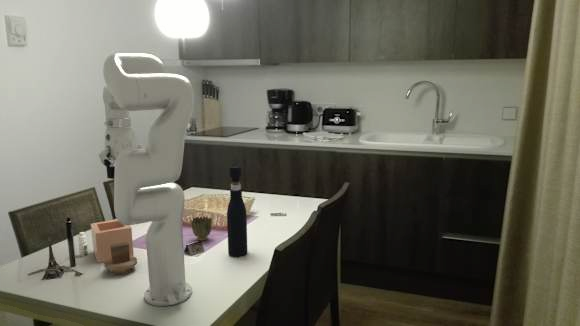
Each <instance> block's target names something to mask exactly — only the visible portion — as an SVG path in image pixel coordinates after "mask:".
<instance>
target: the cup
mask: <svg viewBox="0 0 580 326" xmlns="http://www.w3.org/2000/svg"><path fill="white" fill-rule="evenodd" d="M212 222H213V218H212V217H210V216H209V217H208V216H203V217H202V216H200V217H199V216H196V217H193V218H192V219H191V220H190V223H191V229H192V233H193V235H194V236H195V237H196V238H197V241H199V242H206V241H208V236H209V235H210V233H211V232H212V226H213V225H212V224H213V223H212Z"/></svg>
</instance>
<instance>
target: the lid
mask: <svg viewBox="0 0 580 326" xmlns="http://www.w3.org/2000/svg"><path fill="white" fill-rule="evenodd" d="M110 246H111V257H112V258H111V259H109V260H107V261H106V262H104V267H105V269H106V270H108V271H110V272H111V273H112V275H115V276H119V275H126V274H128V273H130V272H131V271H132V270H133V267H136V266H137V264H138V258H137V257H136V256H135V255H134V256H130V252H129V244H128V242H124V243H119V244H114V245H110Z"/></svg>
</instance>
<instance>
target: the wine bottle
mask: <svg viewBox="0 0 580 326" xmlns="http://www.w3.org/2000/svg"><path fill="white" fill-rule="evenodd" d="M228 171H229V172H228V173H229V178H231V184H230V190H229V191H230V192H229V193H230V199H229V201H228V205H227V209H226V210H227V211H226V223H227V224H226V225H227V227H226V228H227V252H228V257H229V256H230V257H231V258H243V257H245V256H247V255H248V226H247V225H248V223H247V221H248V220H247V218H248V217H247V208H246V205H245V202H244V201H245V200H243V190H242V185H241V183H240V182H241V181H240V178H241V177H242V166H241V165H236V164H235V165H230V166H229V168H228Z"/></svg>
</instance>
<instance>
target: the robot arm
mask: <svg viewBox="0 0 580 326" xmlns="http://www.w3.org/2000/svg"><path fill="white" fill-rule="evenodd" d="M165 71H166V69H165V66H164V63H163V62H162V60H160V58H158V57H156V56H155V55H153V54H149V53H116V52H115V53H112V54H110V55H108V56H107V58H106V59H105V61H104V62H103V69H102V72H103V79H104V81H105V84H106V85H105V86H104V87H103V91H102V100H103V103H104V104H103V105H104V113H105V121H104V126H105V127H106V128H105V131H104V149H103V150H102V151H101V152H100V153H99V154H98V158H99V159H100V161H101V163H102V164H103V166H104V167H105V169H106V178H108V179H112V180H114V184H113V185H114V190H113V191H114V193H113V210H114V215H115V218H116V220H118V222H119V223H121V224H123V225H130V226H134V225H140V224H144V223H149V222H151V223H150V225H149V227H148V229H147V231H146V236H145V242H146V243H145V245H146V256H147V257H146V258H147V268H148V269H147V270H148V282H149V287H148V288H147V289H145V291H144V293H143V297H144V301H145V302H146V303H148V304H149V305H152V306H156V307H158V306H160V307H165V306H166V307H167V306H172V305H177V304H179V303H182V302H184V301H186V300H187V299H188V298H190V296H191V295H192V293H193V288H192V286H191V284H190V283H188V282H187V281H186V268H185V267H186V266H185V249H184V230H183V225H184V224H183V222H184V221H183V220H184V210H185V200H186V199H185V192H184V190H183V188H182V187H181V185H179V184H178V183H175V182H177V181H178V180H179V179H180V176H181V174H182V169H183V159H184V151H185V150H184V149H185V142H186V140H185V139H186V132H187V129H188V128H189V124H190V122H191V119H192V115H193V112H194V108H195V107H194V105H195V94H194V89H193V85H192V82H191V81H190V80H189V79H188V78H187V77H185V76H183V75H180V74H176V73H165ZM156 110H157V111H158V110H163V112H162V113H161V114H160V115H159V116H158V117H156V120H155V121H154V122H153V123H152V125H151V127H150V128H149V131H148V143H147V146H146V147H142V146H141V145H139V144H138V141H137V136H136V132H135V129H134V126H132V116H131V112H136V111H138V112H139V111H156Z"/></svg>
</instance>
